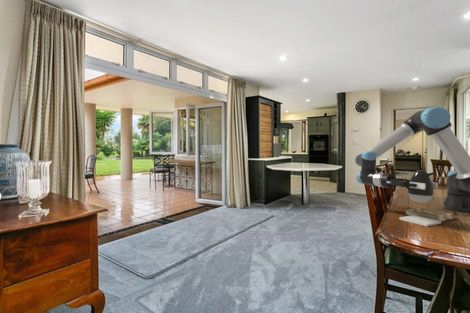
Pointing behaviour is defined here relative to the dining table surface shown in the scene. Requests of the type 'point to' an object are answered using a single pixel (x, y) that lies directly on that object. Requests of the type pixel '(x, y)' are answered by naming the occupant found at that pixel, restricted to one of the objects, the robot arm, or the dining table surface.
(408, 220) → the ceramic tile
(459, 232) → the dining table surface
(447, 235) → the dining table surface
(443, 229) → the dining table surface
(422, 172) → the black tall egg-shaped piece
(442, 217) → the square picture frame
